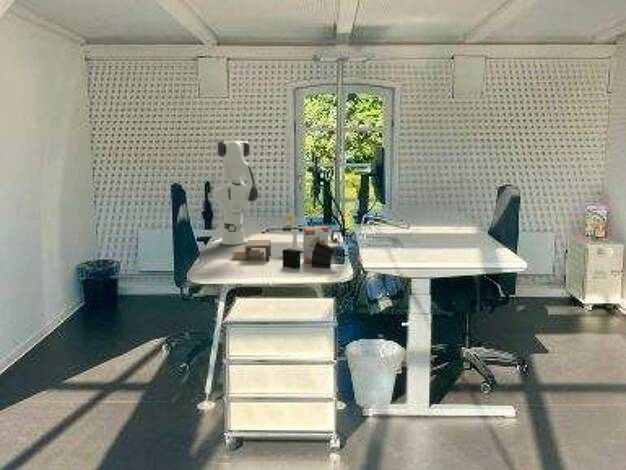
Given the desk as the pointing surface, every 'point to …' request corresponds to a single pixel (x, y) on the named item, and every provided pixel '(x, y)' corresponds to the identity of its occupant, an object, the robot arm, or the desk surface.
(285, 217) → the flower in vase
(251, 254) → the brown wooden block
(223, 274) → the desk surface
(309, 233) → the cracker box
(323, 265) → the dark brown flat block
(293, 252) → the electronic device
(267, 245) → the small wooden table
